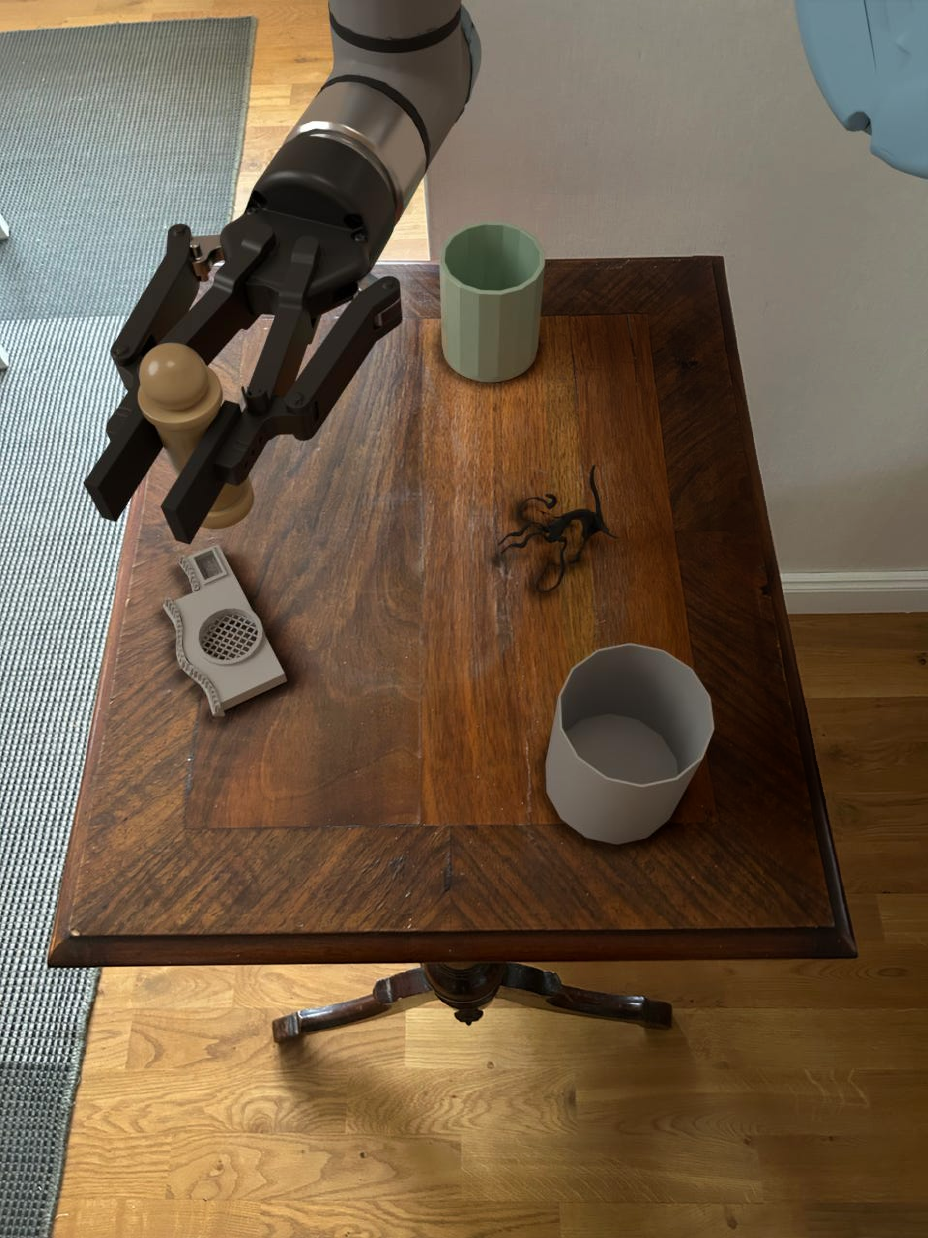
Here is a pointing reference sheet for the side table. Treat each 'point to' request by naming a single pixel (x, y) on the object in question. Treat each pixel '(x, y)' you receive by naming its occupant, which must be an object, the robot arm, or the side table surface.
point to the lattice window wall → (220, 634)
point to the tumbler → (491, 300)
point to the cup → (626, 741)
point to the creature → (558, 527)
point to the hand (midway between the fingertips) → (138, 513)
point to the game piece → (188, 418)
